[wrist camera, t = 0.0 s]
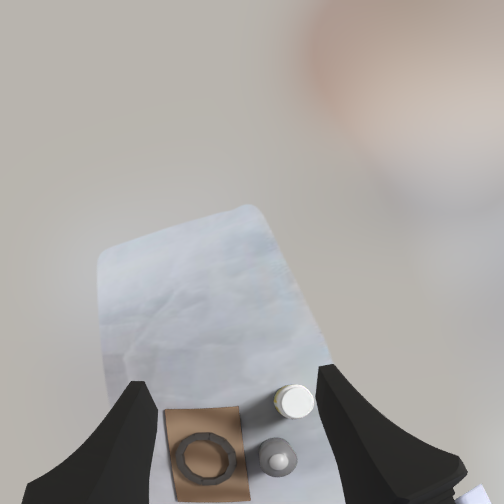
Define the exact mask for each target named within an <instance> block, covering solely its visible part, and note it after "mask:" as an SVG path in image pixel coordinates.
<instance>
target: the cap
mask: <svg viewBox="0 0 504 504" xmlns="http://www.w3.org/2000/svg"><path fill="white" fill-rule="evenodd" d="M259 460H260V466H261V469H262V470H263V471H264V472H265V473H266V474H267V475H269V476H272V477H283V476H286V475H288V474H290V473H291V472H292V471H293V470H294V469H295V467H296V465H297V456H296V453H295V452H294V450H293V449H292V447H291V446H290V444H289V443H288V442H287V441H286V440H284V439H282V438H270V439H268V440H266V441H265V442H263V443H262V445H261V446H260V448H259Z"/></svg>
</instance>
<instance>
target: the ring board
mask: <svg viewBox="0 0 504 504" xmlns="http://www.w3.org/2000/svg"><path fill="white" fill-rule="evenodd" d="M165 416H166V426H167V434H168V442H169V450H170V457H171V464H172V470H173V476H174V482H175V488H176V494H177V499H178V502H239V501H251V498H250V492H249V485H248V477H247V470H246V463H245V455H244V447H243V439H242V431H241V423H240V415H239V406H236V407H222V408H204V409H165Z"/></svg>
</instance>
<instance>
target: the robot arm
mask: <svg viewBox="0 0 504 504" xmlns="http://www.w3.org/2000/svg"><path fill="white" fill-rule="evenodd" d="M315 398H316V402H317V406H318V411H319V415H320V418H321V421H322V424H323V427H324V429H325V432H326V435H327V437H328V440H329V443H330V445H331V448H332V451H333V453H334V456H335V459H336V462H337V465H338V470H339V474H340V478H341V482H342V487H343V492H344V497H345V502H346V504H491V502H490V500H489V498H488V496H487V494H486V492H485V490H484V488H483V486H482V484H479V485H478V486H476V487H475V488H473V489H471V490H470V491H468V492H467V493H465V494H464V495H462V496H460V497H459V498H457V499H456V500H454V499H453V495H454V494H455V492H454V490H453V487H454V486H455V485H456V484H458V483H459V482H460V481H461V480H462V479H463V478H464V477H465V476H466V475H467V473H468V471H467V470H466V468H465V466H464V464H463V462H462V461H461V459H460V458H459V456H456V455H453V454H451V453H448V452H445V451H443V450H440V449H438V448H435V447H433V446H431V445H429V444H427V443H425V442H423V441H421V440H419V439H418V438H416V437H414V436H412V435H411V434H409V433H407V432H406V431H404V430H403V429H401V428H400V427H398V426H397V425H395V424H394V423H393V422H391V421H390V420H389V419H387V418H386V417H385V416H383V415H382V414H381V413H380V412H379V411H378V410H377V409H375V408H374V407H373V406H372V405H371V404H370V403H369V402H368V401H367V400H366V399H365V398H364V397H363V396H362V395H361V394H360V393H359V392H358V391H357V390H356V389H355V388H354V387H353V386H352V385H351V384H350V383H349V382H348V380H347V379H346V378H345V377H344V376H343V375H342V373H341V372H340V371H339V370H338V369H337V367H336V366H335V365H334V364H330V365H325V366H319V369H318V378H317V387H316V395H315ZM157 422H158V409H157V407H156V405H155V403H154V401H153V399H152V397H151V395H150V393H149V390H148V388H147V386H146V384H145V382H144V381H131V382H130V383H129V385H128V386H127V387H126V389H125V390H124V392H123V393H122V395H121V396H120V398H119V399H118V400H117V402H116V403H115V405H114V406H113V408H112V409H111V410H110V412H109V413H108V414H107V416H106V417H105V418H104V420H103V421H102V422H101V423H100V425H99V426H98V427H97V429H96V430H95V431H94V432H93V433H92V434H91V436H90V437H89V438H88V439H87V440H86V441H85V442H84V443H83V444H82V445H81V446H80V447H79V448H78V449H77V450H76V451H75V452H74V453H73V454H72V455H70V456H69V457H68V458H67V459H66V460H64V461H63V462H62V463H61V464H59V465H58V466H56V467H55V468H54V469H52V470H51V471H49V472H48V473H46V474H45V475H43V476H41V477H39V478H37V479H35V480H34V481H32V482H30V483H28V484H27V486H26V490H25V493H24V497H23V501H22V504H149V476H150V468H151V462H152V456H153V451H154V445H155V439H156V433H157Z"/></svg>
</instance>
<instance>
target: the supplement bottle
mask: <svg viewBox="0 0 504 504" xmlns="http://www.w3.org/2000/svg"><path fill="white" fill-rule="evenodd" d="M274 406H275V408H276V409H277V411H278V412H279V413H281V414H282V415H283V416H284V417H286V418H289V419H300V418H302V417H304V416H306V415H308V414H309V413H310V412H311V410H312V408H313V406H314V398H313V396H312V394H311V393H310V391H309V390H308V389H307V388H305V387H304V386H301V385H287V386H284V387H282V388H280V389H279V390H278V391H277V392H276V394H275V396H274Z"/></svg>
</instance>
